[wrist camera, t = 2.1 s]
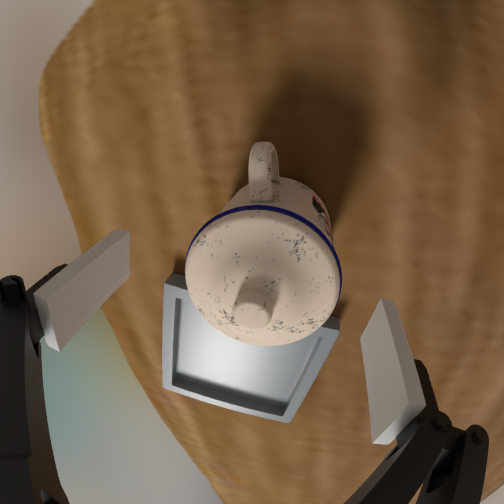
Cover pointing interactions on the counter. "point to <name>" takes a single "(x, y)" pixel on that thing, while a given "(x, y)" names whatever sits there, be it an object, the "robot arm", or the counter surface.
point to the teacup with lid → (266, 259)
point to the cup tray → (237, 361)
